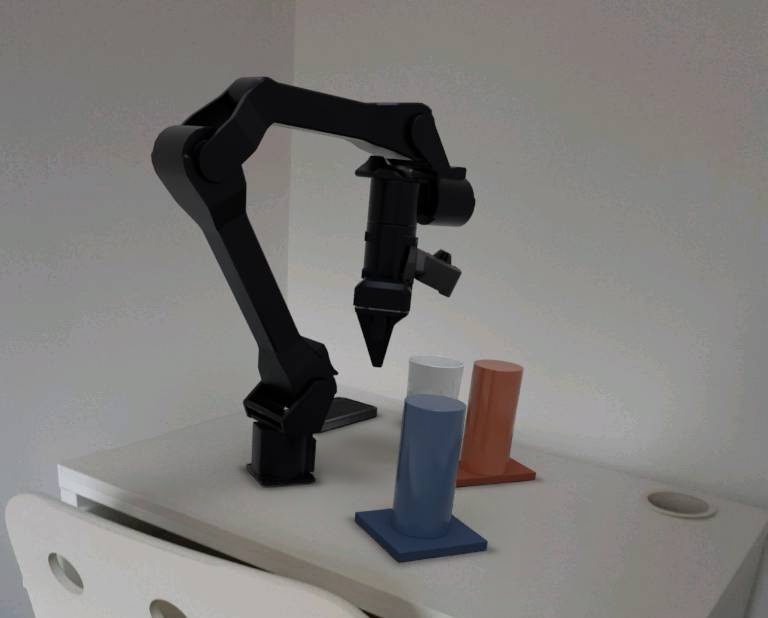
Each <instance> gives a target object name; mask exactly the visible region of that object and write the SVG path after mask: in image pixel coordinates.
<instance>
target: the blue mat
mask: <svg viewBox="0 0 768 618" xmlns="http://www.w3.org/2000/svg"><path fill="white" fill-rule="evenodd" d="M392 508H393V507H392ZM392 508H383V509H373V510H364V511H363V510H361V511H355V512H354V522H355V523H356V524H357V525H358V526H359V527H361V528H362V529H363V530H364V531H365V532H366V533H367V534H368V535H369V536H370V537H371V538H372V539H373V540H375V541H376V542H377V543H378V545H380V546H381V547H382V548H383V549H384V550H385V551H386V552H387V553H389V555H390V556H392V558H394V559H395V560H396V561H397V562H398V563H403V562H409V561H416V560H417V561H418V560H425V559H430V558H431V559H432V558H439V557H444V556H445V557H446V556H453V555H459V554H467V553H474V552H482V551H486V550H487V548H488V543H489V541H488V540H487V539H486V538H484V537H483V536H482V535H480V534H479V533H477V532H476V531H475V530H473V529H472V528H471V527H469V526H468V525H467V524H466V523H464V522H463V521H462V520H460V519H458V517H456V516H455V515H454V514H452V516H451V523H450V530H449V532H448V533H447V534H446V535H444V536H442V537H438V538H416V537H411V536H407V535H404V534H402V533H400V532H398V531H396V530H395V529H394V528H393V527H392V525H391V517H392Z"/></svg>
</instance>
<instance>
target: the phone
mask: <svg viewBox="0 0 768 618" xmlns="http://www.w3.org/2000/svg"><path fill="white" fill-rule="evenodd" d="M378 409H379V408H378V407H377V406H375V405H372V404H370V403H369V404H368V403H365V402H362V401H359V400H355V399H351V398H348V397H345V396H336V397H335V396H334V400H333V402H332V404H331V406H330V409H329V412H328V414H327V417H326V420H325V422H324V425H323V428H322V431H321V432H325V431H329V430H332V429H335V428H338V427H342V426H343V427H344V426H345V425H349V424H354V423H356V422H360V421H363V420H367V419H370V418H374V417H377V416H378ZM284 410H286V411H288V410H289V409H288V408H285V409H284Z"/></svg>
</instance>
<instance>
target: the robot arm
mask: <svg viewBox="0 0 768 618" xmlns="http://www.w3.org/2000/svg"><path fill="white" fill-rule="evenodd" d="M436 125H437V124H436V121H435V116H434V115H433V110H432V108H431V107H430V106H429V105H427V104H426V103H424V102H418V101H417V102H415V101H414V102H411V101H410V102H408V101H407V102H405V101H402V102H401V101H399V102H397V101H379V102H378V101H377V102H376V101H372V102H370V101H369V102H367V101H365V102H364V101H359V100H356V99H351V98H347V97H343V96H339V95H335V94H330V93H326V92H321V91H317V90H312V89H309V88H304V87H299V86H296V85H292V84H288V83H283V82H279V81H276V80H274V79H273V78H271V77H269V76H241V77H238V78H236V79H235V80H234V81H233V82H232V83H231V84H230V85H229V86H228V87H227V88H225V90H224V91H222V92H221V94H219V95H217V97H215V98H214V99H212V100H210V101H209V102H208V103H206V104H205V105H203V106H202V107H200V108H199V109H197V110H195V111H194V112H193V113H192V114H190V115H189V116H188V117H187V118H185V120H183V121H182V122H181V123H180V124H173V125H170V126H167V127H165V128H164V129H162V131H160V133H158V135H157V137H156V138H155V140H154V142H153V147H152V152H150V159H151V165H152V168H153V171H154V173H155V174H156V176H157V177H158V179H159V180H160V182H161V183H162V185H163V186H164V187H165V189H166V191H167V192H168V193H169V195H170V197H172V199H173V200H174V201H175V203H176V204H177V205H178V206H179V207H180V208H181V209H182V210H183V211H184V212H185V213H186V214H187V215H188V217H190V218H191V219H192V221H193V222H194V223H196V224H197V226H198V227H199V228H200V230H201V231H202V233H203V235H204V237H205V239H206V241H207V243H208V245H209V247H210V250H211V252H212V254H213V256H214V258H215V260H216V262H217V264H218V267H219V268H220V270H221V272H222V274H223V276H224V278H225V281H226V283H227V285H228V287H229V289H230V291H231V293H232V295H233V297H234V299H235V301H236V303H237V305H238V307H239V309H240V311H241V314H242V316H243V318H244V320H245V322H246V324H247V326H248V328H249V330H250V332H251V334H252V336H253V338H254V340H255V342H256V345H257V350H258V352H257V353H258V354H257V355H258V356H257V370H258V373H259V376H260V380H259V382H258V383H257V384H256V385H255V386H254V387H253V388H252V390H251V391H250V392H249V393H248V394H247V395H246V397H245V398H244V399H243V400H242V405H243V408H244V411H245V415H246V417H247V418H249V419H252V420H254V421H253V422H252V433H251V434H252V436H251V462H247V463H246V464H245V469H246V470H247V471H248V472H249V473H250V474H251V475H252V476H253V478H255V480H256V481H257V482H258V483H259V484H260V485H261V486H263V487H275V486H276V487H277V486H288V485H298V484H299V485H300V484H310V483H316V482H317V477H316V476H315V475H314V474H312V473H314V472H315V467H316V455H317V454H316V453H317V439H316V437H315V436H314V435H317V434H321V433H322V432H323V431H322V428H323V425H324V422H325V420H326V417H327V414H328V412H329V409H330V406H331V404H332V402H333V400H334V398H335V396H336V395H337V393H338V383H337V380H336V377H335V376H339V372H338V370H337V369H336V368H334V365H333V364H332V362H331V359H330V355H329V351H328V350H329V349H328V348H327V346H326V344H325V343H323V342H320V341H317V340H315V339H312V338H309V337H306V336H303V335H301V333H300V332H299V329H298V327H297V325H296V323H295V320H294V318H293V316H292V313H291V311H290V309H289V307H288V304H287V302H286V300H285V298H284V295H283V293H282V291H281V288H280V286H279V284H278V282H277V280H276V277H275V275H274V272H273V270H272V268H271V266H270V264H269V262H268V260H267V258H266V255H265V252H264V250H263V248H262V246H261V243H260V241H259V239H258V237H257V234H256V232H255V230H254V227H253V224H252V223H251V221H250V218H249V216H248V212H247V193H248V192H247V191H248V183H247V179H246V175H245V171H244V168H243V164H245V162H246V161H248V159H249V158H251V156H253V154H255V152H256V151H257V150H258V148H259V146H260V144H261V143H262V140H263V139H264V137H265V135H266V133H267V130H268V129H269V128H270V127H272V126H274V127H280V128H285V129H289V130H295V131H300V132H305V133H311V134H316V135H321V136H326V137H332V138H335V139H341V140H344V141H347V142H349V143H351V144H352V145H353V146H355V147H356V148H358V149H359V150H360V151H361V150H362V151H364V152H365V153H368V154H371V155H369V156H368V159H367V160H366V161H365V162H364V163H363V164H361V165H360V166H359V167H358V168H356V169H355V171H354V175H355V177H357V178H366V179H370V185H369V196H368V207H367V208H368V209H367V221H366V228H365V229H366V230H365V231H364V238H363V239H364V253H363V266H362V268H361V274H360V279H361V280H360V281H359V282H358V283H356V285H355V286H354V288H353V301H352V306H353V307H354V313H355V315H356V317H357V321H358V323H359V324H358V325H359V327H360V330H361V333H362V336H363V339H364V342H365V346H366V350H367V353H368V356H369V360H370V364H371V366H372V367H373V368H379V369H380V368H382V367H383V365H384V361H385V358H386V354H387V352H388V347H389V345H390V341H391V337H392V334H393V331H394V328H395V326H396V325H397V324H398V323H399V322H400V321H402V320H403V319H405V318H407V317H408V316H409V313H410V311H411V305H412V296H413V288H414V287H413V286H414V284H415V280H416V281H417V282H420V283H422V284H423V285H425V286H427V287H430V288H431V289H434V290H435V291H437V292H438V294H440V295H441V296H444V297H445V298H451V295H452V294H453V292H454V290H455V288H456V286H457V283H458V282H459V280H460V277H461V276H462V274H463V271H462V270H461V269H460V268H458V266H456V265H453V264H452V254H451V253H449V252H448V251H446V250H444V249H442V248H440V249H438V250H437V251H435V253H433V254H432V253H430V252H428V251H425V250H423V249H420V248H419V236H417V232H418V231H417V230H418V225H421V226H430V227H431V226H432V227H433V226H434V227H450V228H460V227H463V226H464V225H466V224H467V223H468V222H469V221H470V219H471V218H472V216H473V214H474V212H475V207H476V201H477V200H476V197H475V192H474V189H473V188H474V187H473V185H472V184H471V182H470V181H469V180H468V179H467V170H468V169H467V168H466V167H465V166H455V165H451V164H450V161H449V159H448V156H447V154H446V150H445V147H444V145H443V142H442V140H441V137H440V133H439V130H438V128H437V126H436ZM285 409H289V410H288V411H286V410H285Z"/></svg>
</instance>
